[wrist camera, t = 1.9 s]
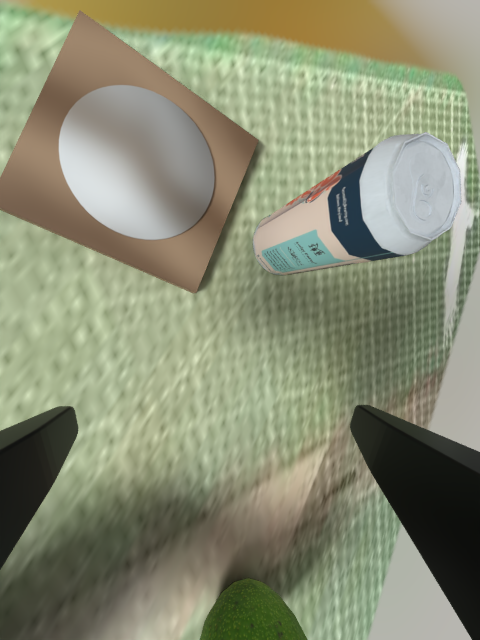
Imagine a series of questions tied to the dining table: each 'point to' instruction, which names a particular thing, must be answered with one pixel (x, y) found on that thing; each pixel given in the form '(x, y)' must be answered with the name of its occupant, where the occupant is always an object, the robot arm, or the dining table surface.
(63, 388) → the dining table surface
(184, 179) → the plate
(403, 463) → the robot arm
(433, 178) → the beer can
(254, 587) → the avocado
